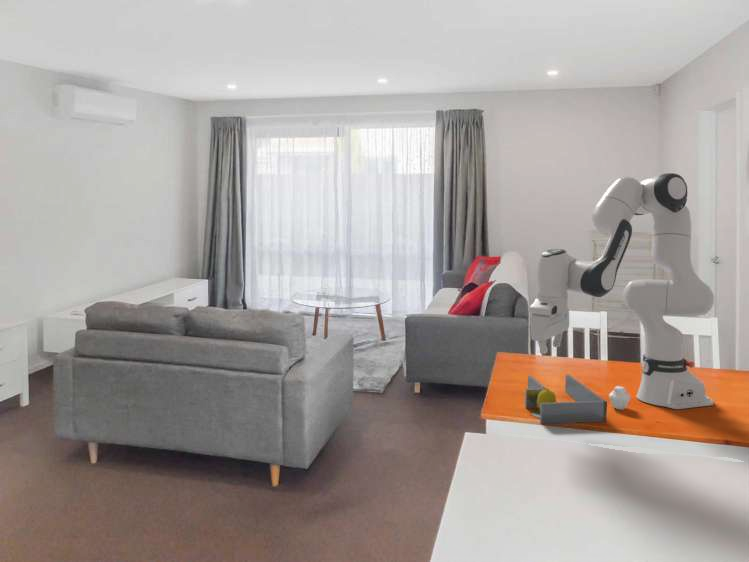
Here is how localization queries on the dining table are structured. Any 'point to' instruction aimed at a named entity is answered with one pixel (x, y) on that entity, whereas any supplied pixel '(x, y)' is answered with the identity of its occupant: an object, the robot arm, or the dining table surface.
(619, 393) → the white rounded piece
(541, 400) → the lemon
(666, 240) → the robot arm
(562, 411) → the rail corridor
